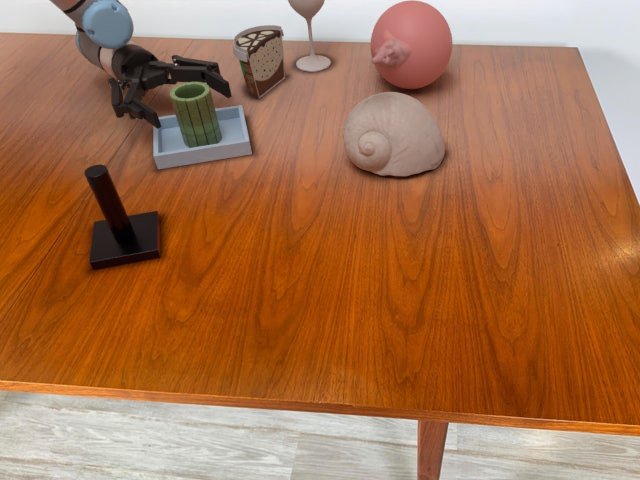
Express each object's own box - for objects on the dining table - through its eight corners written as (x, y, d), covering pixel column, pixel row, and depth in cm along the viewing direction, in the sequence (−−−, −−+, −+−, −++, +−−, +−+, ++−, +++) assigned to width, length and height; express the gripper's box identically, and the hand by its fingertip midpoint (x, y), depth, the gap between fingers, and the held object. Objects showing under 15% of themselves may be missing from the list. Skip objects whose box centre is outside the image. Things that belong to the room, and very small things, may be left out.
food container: (264, 69, 121) (255, 19, 113) (289, 74, 119) (282, 25, 111) (228, 95, 113) (217, 44, 106) (254, 102, 111) (244, 51, 104)
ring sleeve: (185, 152, 99) (170, 103, 92) (183, 132, 103) (169, 84, 96) (223, 145, 100) (211, 97, 93) (220, 127, 104) (208, 79, 97)
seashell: (356, 182, 104) (322, 150, 90) (383, 111, 105) (353, 67, 91) (434, 204, 99) (410, 172, 85) (461, 128, 100) (442, 85, 86)
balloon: (340, 98, 112) (334, 15, 101) (402, 59, 122) (402, -19, 111) (405, 122, 105) (405, 37, 94) (464, 80, 116) (471, -1, 105)
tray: (157, 169, 96) (153, 156, 94) (157, 130, 105) (153, 117, 103) (252, 154, 99) (249, 141, 97) (244, 117, 107) (241, 104, 105)
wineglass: (304, 53, 125) (291, -55, 110) (337, 58, 123) (328, -52, 108) (289, 69, 120) (273, -43, 105) (322, 74, 118) (312, -39, 103)
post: (93, 270, 80) (54, 197, 71) (97, 229, 86) (62, 157, 77) (160, 257, 81) (130, 184, 72) (160, 218, 87) (132, 146, 78)
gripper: (195, 62, 115) (259, 98, 105) (73, 108, 103) (132, 155, 93) (185, 23, 110) (251, 57, 99) (55, 67, 98) (115, 112, 87)
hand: (194, 104), depth 96 cm, fingers open, 13 cm apart
